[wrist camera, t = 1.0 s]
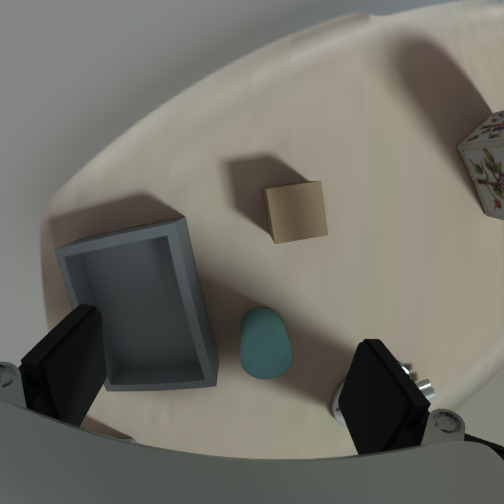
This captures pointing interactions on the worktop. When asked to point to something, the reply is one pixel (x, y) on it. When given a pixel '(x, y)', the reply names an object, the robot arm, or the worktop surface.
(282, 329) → the teal cylinder
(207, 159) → the worktop surface
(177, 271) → the tote
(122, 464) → the robot arm
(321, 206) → the walnut cube
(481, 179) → the decorative jar
